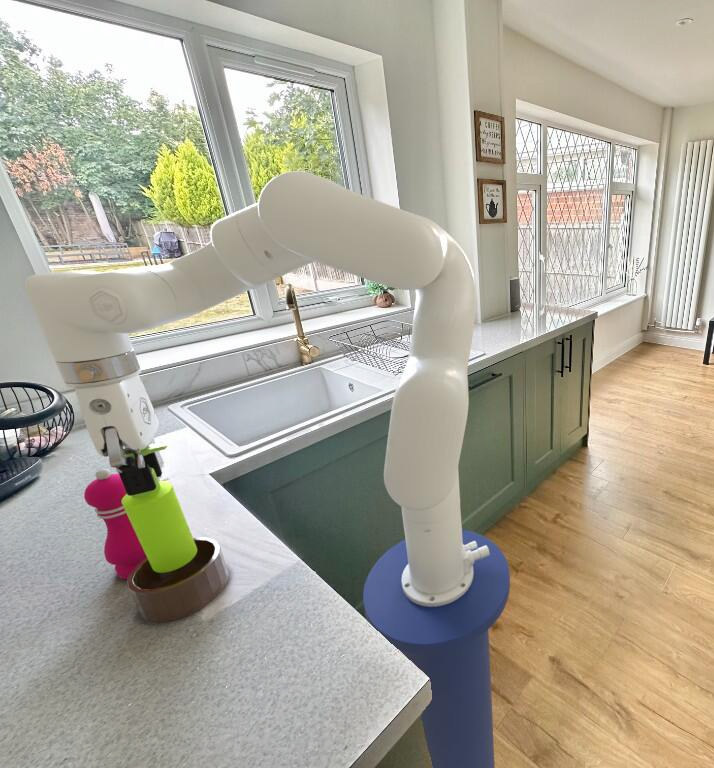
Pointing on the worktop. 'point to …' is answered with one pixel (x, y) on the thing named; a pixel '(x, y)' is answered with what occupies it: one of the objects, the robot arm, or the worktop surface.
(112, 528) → the pepper mill
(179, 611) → the bowl
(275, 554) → the worktop surface
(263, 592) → the worktop surface
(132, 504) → the soap dispenser
